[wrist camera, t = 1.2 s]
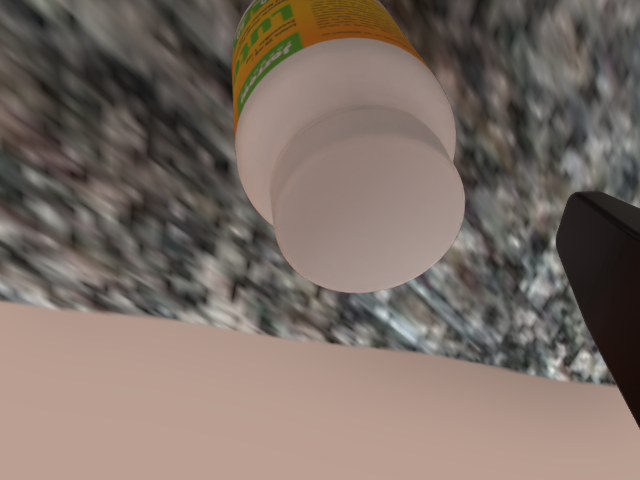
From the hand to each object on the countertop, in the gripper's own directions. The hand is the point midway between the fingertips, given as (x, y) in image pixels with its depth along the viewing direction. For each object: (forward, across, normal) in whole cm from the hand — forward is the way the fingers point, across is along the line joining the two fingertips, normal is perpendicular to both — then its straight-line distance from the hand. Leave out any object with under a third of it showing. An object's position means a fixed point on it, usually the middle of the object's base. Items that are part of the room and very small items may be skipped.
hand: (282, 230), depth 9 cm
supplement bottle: (+12, -2, +2) cm, 13 cm away
